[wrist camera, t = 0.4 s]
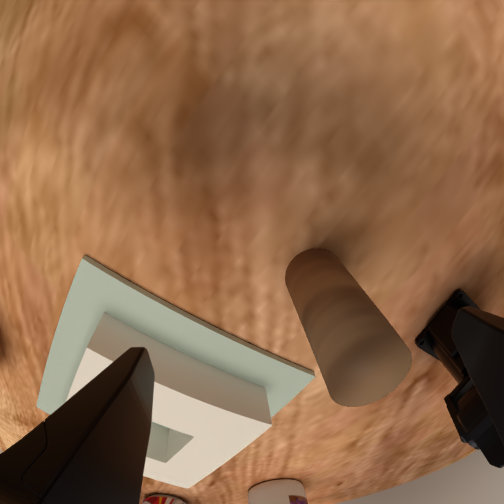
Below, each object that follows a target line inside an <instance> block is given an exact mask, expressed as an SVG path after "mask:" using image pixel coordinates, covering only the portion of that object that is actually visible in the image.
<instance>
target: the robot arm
mask: <svg viewBox="0 0 504 504" xmlns="http://www.w3.org/2000/svg"><path fill="white" fill-rule="evenodd" d="M415 344H416V345H417V346H418V347H419V348H420V349H422V350H424V351H425V352H427V353H428V354H430V355H432V356H433V357H435V358H436V359H438V360H440V361H441V362H442V363H443V364H444V366H445V367H446V368H447V370H448V371H449V372H450V373H451V375H452V376H453V377H454V379H455V380H456V381H457V382H458V385H457V386H456V388H455V389H454V390H453V391H452V392H451V393H450V394H448V395H447V396H446V397H445V398H444V400H445V402H446V404H447V409H448V411H449V413H450V415H451V417H452V420H453V422H454V424H455V427H456V429H457V431H458V433H459V436H460V439H461V441H462V442H463V443H468V444H469V445H470V446H472V447H473V448H475V449H478V450H479V449H480V450H481V451H482V453H483V454H484V456H485V457H486V459H487V460H488V462H489V463H490V464H491V465H493V466H495V467H498V468H502V467H504V318H502V317H499V316H496V315H493V314H491V313H488V312H485V311H482V310H480V309H479V308H478V307H477V306H476V305H475V303H474V302H473V301H472V300H471V299H470V298H469V297H468V296H467V295H466V293H465V292H464V291H462V290H461V289H458V290H457V291H456V292H455V293H454V295H453V296H452V297H451V299H450V300H449V301H448V302H447V304H446V305H445V306H444V307H443V309H442V310H441V311H440V312H439V314H438V315H437V316H436V317H435V319H434V320H433V321H432V322H431V323H430V324H429V326H428V327H427V328H426V329H425V330H424V331H423V333H422V334H421V335H420V336H419V337H418V338H417V340H416V342H415ZM154 381H155V374H154V369H153V366H152V363H151V360H150V356H149V353H148V350H147V349H146V348H145V347H131V348H129V349H128V350H127V351H125V352H124V353H123V354H122V355H121V356H119V357H118V358H117V359H116V360H115V361H114V362H112V363H111V364H110V365H109V366H108V367H106V368H105V369H104V370H103V371H102V372H100V373H99V374H98V375H97V376H96V377H95V378H93V379H92V380H91V381H90V382H89V383H87V384H86V385H85V386H84V387H83V388H82V389H80V390H79V391H78V392H77V393H76V394H74V395H73V396H72V397H71V398H70V399H68V400H67V401H66V402H65V403H64V404H63V405H61V406H60V407H59V408H58V409H57V410H55V411H54V412H53V413H52V414H51V415H50V416H48V417H47V418H46V419H45V422H44V421H42V422H41V423H40V424H39V425H38V426H36V427H35V428H34V429H33V430H32V431H30V432H29V433H28V434H27V435H25V436H24V437H23V438H22V439H21V440H19V441H18V442H16V443H15V444H14V445H12V446H11V447H10V448H8V449H7V450H5V451H4V452H2V453H1V454H0V504H139V500H140V493H141V486H142V479H143V473H144V467H145V461H146V455H147V449H148V443H149V437H150V431H151V423H152V408H153V394H154Z"/></svg>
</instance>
